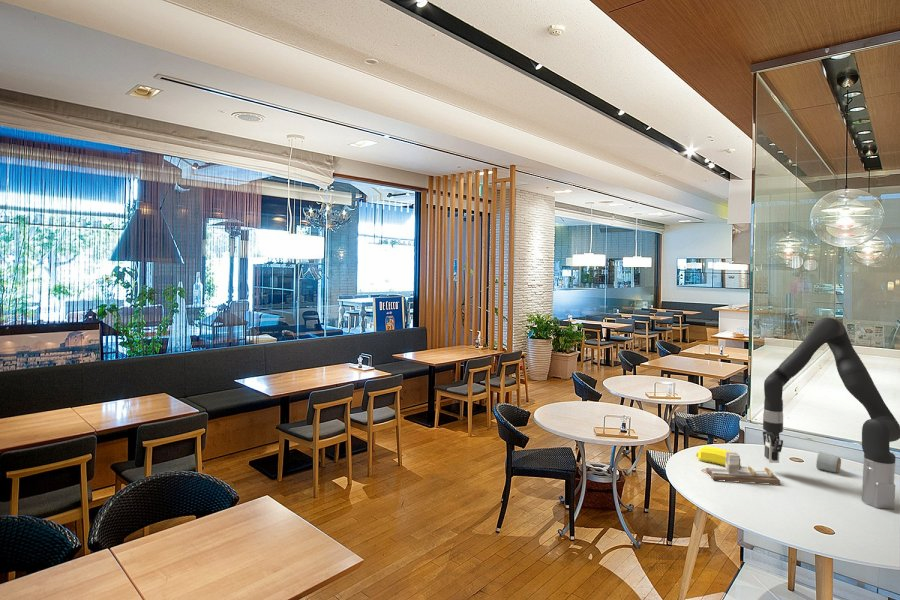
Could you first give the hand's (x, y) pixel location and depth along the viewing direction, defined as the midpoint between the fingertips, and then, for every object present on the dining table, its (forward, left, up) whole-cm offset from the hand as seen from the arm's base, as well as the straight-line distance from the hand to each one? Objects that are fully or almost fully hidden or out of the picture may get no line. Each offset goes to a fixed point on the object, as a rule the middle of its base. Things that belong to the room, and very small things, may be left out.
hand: (772, 458), depth 227 cm
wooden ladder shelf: (-9, +16, -6) cm, 19 cm away
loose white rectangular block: (0, 0, -1) cm, 1 cm away
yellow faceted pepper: (+9, +20, -7) cm, 23 cm away
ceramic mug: (+8, -27, -7) cm, 29 cm away
